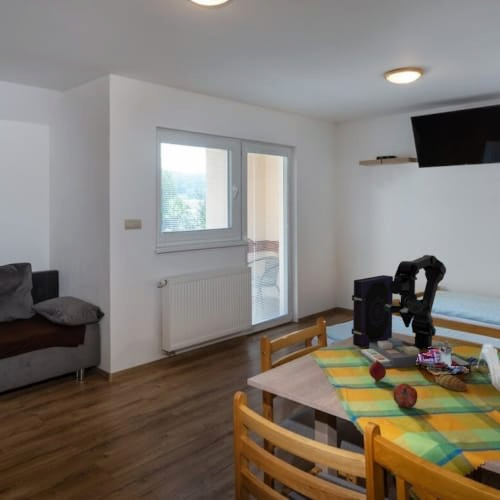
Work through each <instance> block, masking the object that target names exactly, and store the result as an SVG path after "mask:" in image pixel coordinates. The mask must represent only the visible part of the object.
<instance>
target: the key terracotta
mask: <svg viewBox="0 0 500 500" xmlns="http://www.w3.org/2000/svg"><path fill="white" fill-rule="evenodd" d="M385 351H386V352H387V353H389V354H398V353H400V352H398V351H396V350H385Z"/></svg>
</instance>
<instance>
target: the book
mask: <svg viewBox="0 0 500 500" xmlns="http://www.w3.org/2000/svg"><path fill="white" fill-rule="evenodd" d="M392 281H394V276H392V275H386V274H385V275H384V274H382V275H376V276H372V277H371V276H370V277H365V278H359V279H354V280H353V294H352V295H351V301H353V312H352V315H353V316H352V317H353V318H352V320H353V322H352V323H353V326H352V328H351V335H353V336H352V344H353V346H355V345H360V347H362V348H363V347H367V346H369V343H373V342H378V341H386V340H388V338H393V313H389V312H387V311H385V310H384V306H385V305H386V304H393V299H394V297H393V295H394V294H393V293H392V292H391V291H390V289H389V285H390V283H391V282H392Z"/></svg>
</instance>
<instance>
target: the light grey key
mask: <svg viewBox="0 0 500 500" xmlns="http://www.w3.org/2000/svg"><path fill="white" fill-rule="evenodd" d="M378 347H379V348H381V349H392V343H391V342H389V341H388V340H382V341H378Z"/></svg>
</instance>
